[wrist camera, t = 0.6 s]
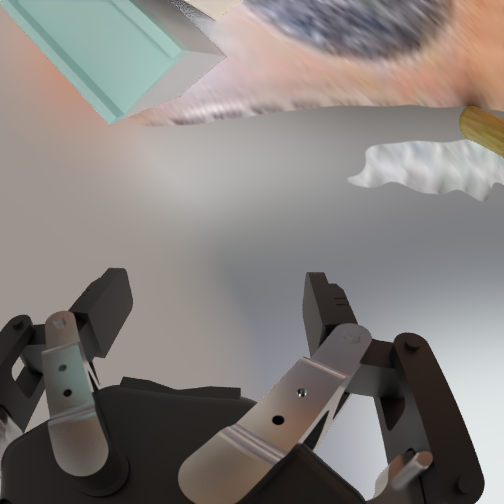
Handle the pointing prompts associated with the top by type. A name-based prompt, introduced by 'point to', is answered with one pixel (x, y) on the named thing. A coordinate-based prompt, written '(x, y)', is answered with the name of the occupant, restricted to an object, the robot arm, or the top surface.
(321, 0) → the top surface
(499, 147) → the vase
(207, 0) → the cream box stand
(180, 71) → the grey block
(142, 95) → the teal tray
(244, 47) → the top surface
